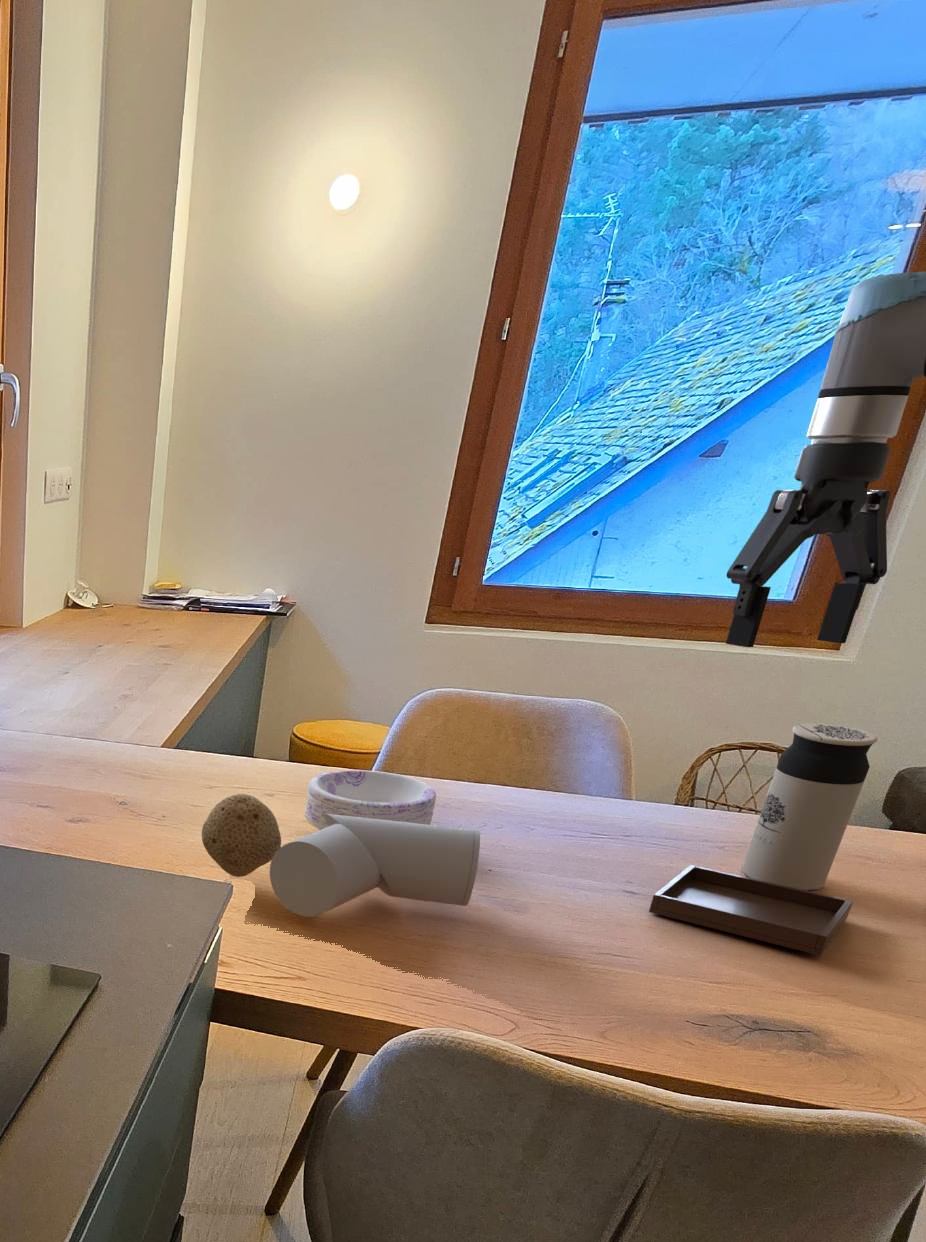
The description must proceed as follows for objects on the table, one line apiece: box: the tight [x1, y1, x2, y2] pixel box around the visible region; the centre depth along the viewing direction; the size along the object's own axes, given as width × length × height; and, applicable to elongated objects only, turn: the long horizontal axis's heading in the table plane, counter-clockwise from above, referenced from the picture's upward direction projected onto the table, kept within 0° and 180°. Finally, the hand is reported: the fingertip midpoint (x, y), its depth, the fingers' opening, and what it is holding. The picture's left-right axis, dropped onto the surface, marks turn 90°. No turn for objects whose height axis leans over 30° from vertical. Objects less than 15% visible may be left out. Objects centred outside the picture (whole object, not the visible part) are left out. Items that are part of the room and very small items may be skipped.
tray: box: [648, 864, 854, 956], centre depth 114 cm, size 15×14×2 cm
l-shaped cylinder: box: [269, 814, 481, 918], centre depth 115 cm, size 18×10×20 cm
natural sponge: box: [201, 793, 282, 878], centre depth 123 cm, size 9×9×10 cm
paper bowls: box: [304, 769, 437, 831], centre depth 134 cm, size 15×15×8 cm
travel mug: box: [741, 722, 878, 891], centre depth 120 cm, size 8×8×18 cm
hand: (785, 643), depth 120 cm, fingers open, 13 cm apart
